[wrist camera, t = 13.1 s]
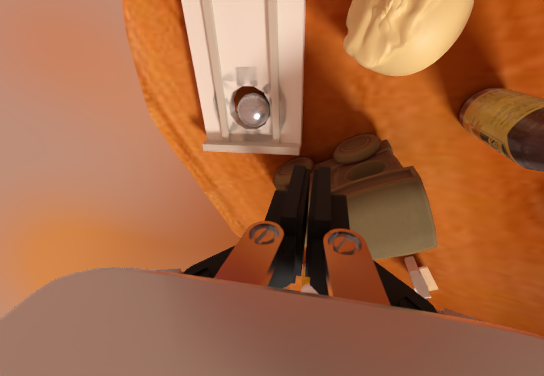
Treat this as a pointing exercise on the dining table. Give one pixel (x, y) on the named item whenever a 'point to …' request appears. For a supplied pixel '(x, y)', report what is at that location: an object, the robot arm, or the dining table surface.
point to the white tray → (249, 70)
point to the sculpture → (403, 32)
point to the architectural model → (420, 277)
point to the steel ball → (253, 109)
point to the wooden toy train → (375, 196)
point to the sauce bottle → (508, 124)
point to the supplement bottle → (307, 284)
